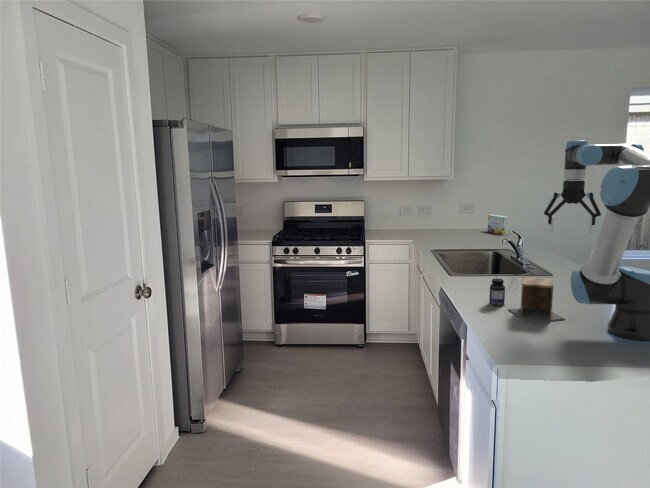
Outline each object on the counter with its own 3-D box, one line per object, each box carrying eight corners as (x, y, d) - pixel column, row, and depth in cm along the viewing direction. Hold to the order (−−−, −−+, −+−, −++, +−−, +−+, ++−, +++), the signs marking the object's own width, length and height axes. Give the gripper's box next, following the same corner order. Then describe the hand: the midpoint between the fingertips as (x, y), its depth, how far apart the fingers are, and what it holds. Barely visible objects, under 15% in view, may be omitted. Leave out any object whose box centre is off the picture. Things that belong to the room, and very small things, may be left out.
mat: (564, 320, 176) (564, 318, 176) (528, 322, 174) (528, 321, 174) (541, 308, 191) (541, 306, 191) (508, 310, 189) (508, 309, 189)
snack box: (487, 231, 392) (487, 214, 389) (492, 231, 393) (493, 214, 391) (503, 235, 372) (504, 217, 369) (509, 234, 374) (510, 216, 371)
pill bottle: (492, 301, 201) (493, 277, 199) (506, 303, 198) (507, 279, 196) (487, 304, 197) (488, 280, 195) (501, 307, 193) (502, 282, 191)
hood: (549, 310, 185) (551, 279, 183) (551, 319, 175) (553, 286, 173) (520, 308, 189) (522, 277, 187) (521, 316, 180) (522, 283, 177)
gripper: (608, 179, 180) (604, 232, 183) (539, 180, 189) (536, 230, 193) (612, 180, 173) (607, 235, 177) (539, 180, 182) (536, 233, 186)
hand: (570, 232), depth 185 cm, fingers open, 13 cm apart
